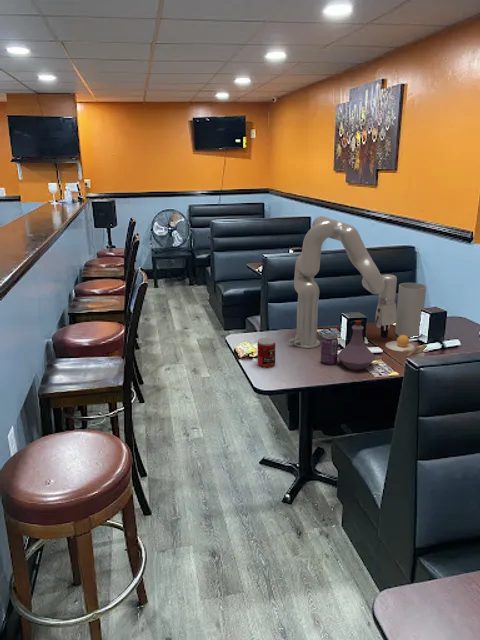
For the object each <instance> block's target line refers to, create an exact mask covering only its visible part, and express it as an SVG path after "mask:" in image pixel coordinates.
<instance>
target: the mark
mask: <svg viewBox="0 0 480 640" xmlns="http://www.w3.org/2000/svg"><path fill="white" fill-rule="evenodd" d="M385 347H386V348H387V349H389V350H391V351H394V352H395V351H396V352H402V353H403V351H404V350H407V349H411V348H414V347H415V345H414V344H412V343H411V342H409V344H408V345H407V346H405V347H401V346H399V345H398V344H397V340H392V341H388V342H386V343H385Z"/></svg>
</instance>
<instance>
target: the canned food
mask: <svg viewBox="0 0 480 640" xmlns="http://www.w3.org/2000/svg"><path fill="white" fill-rule="evenodd" d="M257 364H258V366H259V367H260V366H261V367H260V368H263V367H266V368H265V369H270V368H269V367H271V368H273V367H274V366H275V365H276V340H275V339H274V338H270V337H262V338H259V339H257Z"/></svg>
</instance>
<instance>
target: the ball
mask: <svg viewBox="0 0 480 640" xmlns="http://www.w3.org/2000/svg"><path fill="white" fill-rule="evenodd" d="M396 338H397V339H396V341H397V344H398V345H399V346H401V347H405V346H407V345H408V344H409V343H410V338H408V337H407V336H405V335H401V336H398V337H396Z"/></svg>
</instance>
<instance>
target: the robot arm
mask: <svg viewBox="0 0 480 640" xmlns="http://www.w3.org/2000/svg"><path fill="white" fill-rule="evenodd" d="M311 225H312V227H311V228H310V229H308V231H307V233H306V234H305V236H304V238H303V242H302V249H301V254H299V255H298V256H297V258H296V260H295V266H294V277H293V279H294V280H293V287H294V291H295V292H296V293H297V303H296V304H297V306H296V307H297V308H296V334H295V335H294V337H293V338H288V340H287V341H288V343H289V344H293V346H296V347H297V348H301V349H313V348H317V347H318V346H320V345H321V341H320V340H319V339H318V338H317V337H318V314H319V313H318V311H319V310H318V305H319V297H320V287H319V285H318V283H317V282H316V281H315V280H314V279H315V276H316V275H317V274H318V273H319V271H320V266H321V255H322V254H321V253H322V247H323V244H324V242H325V241H326V240H327V239H332V240H335V241H339V242H341V245H342V247H343V248H344V250H345V252H346V254H347V257H348V259H349V260H350V262H351V264H352V265H353V266H354V268H356V269H357V271H358V272H359V273H360V274H361V276H362V278H361V279H362V280H361V285H362V286H363V288H364V289H365V290H367V291H368V292H370V293H371V294H373V295H378V299H377V303H378V304H377V306H376V311H375V319H374V320H375V321H374V322H375V324H376V325H375V327H376V328H379V330H380V336H379V337H380V338H381V339H382V338H383V339H387V338H388V337H389V336H388V335H389V330H390V327H391V326H392V325H394V324H396V319H397V303H396V296H397V295H396V293H397V284H398V283H397V281H398V279H397V275H394V274H391V273H390V274H382V273H380V272H381V271H380V270H379V268H378V267H377V265H376V263H375V262H374V259H372V257H371V255H370V253H369V251H368V249H367V248H366V245H365V243H364V241H363V240H362V238H361V235H360V233H359V231H358V229H357V228H356V227H354V226H353V225H352V224H348V223H345V222H342V221H338V220H335V219H332V218H329V217H327V216H323V215H321V216H318V217H316V218H314V220H313V221H312V223H311Z"/></svg>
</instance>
